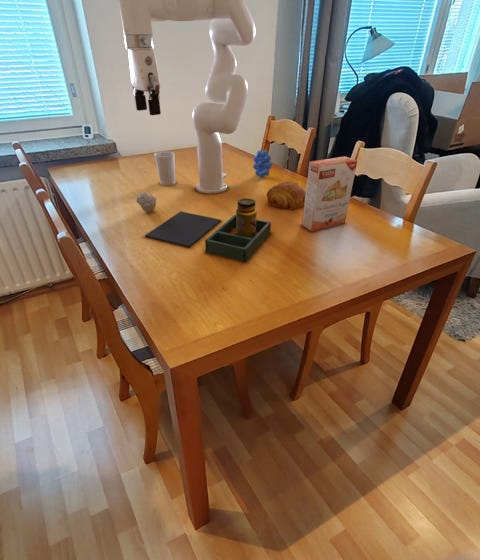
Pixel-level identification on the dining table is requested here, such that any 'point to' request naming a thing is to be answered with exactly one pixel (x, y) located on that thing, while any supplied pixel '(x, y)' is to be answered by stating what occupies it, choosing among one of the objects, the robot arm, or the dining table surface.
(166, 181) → the cup
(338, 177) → the cracker box
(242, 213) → the condiment
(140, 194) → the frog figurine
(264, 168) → the grapes
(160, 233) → the mat
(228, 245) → the caddy
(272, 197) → the croissant
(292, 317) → the dining table surface
